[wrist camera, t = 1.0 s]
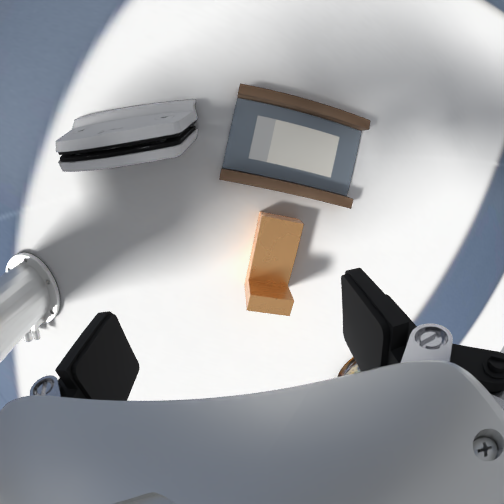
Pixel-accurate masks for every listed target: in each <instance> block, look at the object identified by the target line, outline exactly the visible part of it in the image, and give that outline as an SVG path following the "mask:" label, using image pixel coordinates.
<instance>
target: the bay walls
mask: <svg viewBox="0 0 504 504" xmlns="http://www.w3.org/2000/svg"><path fill="white" fill-rule="evenodd" d="M238 98H242V99H247V100H252V101H257V102H262V103H266V104H271V105H275V106H279V107H283V108H287V109H291V110H295V111H299V112H303V113H306V114H310V115H313V116H317V117H320V118H323V119H327V120H330V121H333V122H336V123H339V124H342V125H345V126H348V127H351V128H354V129H357V130H360V131H362V130H368V129H369V126H370V120H368V119H365V118H363V117H360V116H357V115H354V114H352V113H349V112H346V111H343V110H340V109H337V108H334V107H331V106H328V105H325V104H322V103H318V102H315V101H312V100H308V99H305V98H301V97H297V96H293V95H290V94H286V93H282V92H277V91H273V90H269V89H264V88H260V87H255V86H250V85H245V84H240V87H239V91H238ZM219 180H225V181H230V182H235V183H241V184H246V185H251V186H256V187H261V188H266V189H270V190H275V191H280V192H284V193H289V194H293V195H298V196H302V197H306V198H311V199H315V200H319V201H323V202H327V203H331V204H335V205H339V206H343V207H347V208H350V209H351V207H352V203H353V199H352V198H349V197H346V196H343V195H339V194H335V193H332V192H328V191H324V190H320V189H316V188H312V187H308V186H304V185H299V184H295V183H291V182H287V181H282V180H278V179H273V178H268V177H264V176H259V175H254V174H249V173H244V172H239V171H234V170H228V169H223V168H222V169H221V174H220V179H219Z"/></svg>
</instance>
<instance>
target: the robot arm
mask: <svg viewBox="0 0 504 504" xmlns="http://www.w3.org/2000/svg"><path fill="white" fill-rule="evenodd" d="M341 285H342V306H343V334H344V338H345V341H346V343H347V345H348V347H349V349H350V351H351V353H352V355H353V357H354V359H355V361H356V363H357V365H358V367H359V369H360V371H361V372H358V373H354V374H350V375H345V376H341V377H337V378H333V379H328V380H324V381H320V382H315V383H310V384H305V385H300V386H295V387H290V388H284V389H278V390H272V391H266V392H259V393H252V394H244V395H236V396H227V397H217V398H205V399H190V400H169V401H127V399H128V396H129V394H130V391H131V389H132V386H133V384H134V381H135V379H136V377H137V374H138V372H139V363H138V361H137V359H136V357H135V355H134V353H133V351H132V349H131V347H130V345H129V343H128V341H127V339H126V336H125V334H124V332H123V330H122V328H121V326H120V323H119V321H118V319H117V317H116V315H114V314H112V313H111V312H110V311H109V312H101V313H98V314H97V315H96V316H95V317H94V319H93V320H92V321H91V322H90V324H89V325H88V326H87V328H86V329H85V330H84V331H83V333H82V334H81V335H80V337H79V338H78V339H77V341H76V342H75V343H74V345H73V346H72V347H71V349H70V350H69V352H68V353H67V354H66V356H65V357H64V358H63V360H62V361H61V363H60V364H59V365H58V367H57V368H56V370H55V371H56V372H57V374H58V375H59V377H60V379H59V380H57V378H56V377H54V376H45V377H42V378H41V379H39V380H38V381H36V382H35V383H34V385H33V386H32V388H31V390H30V396H26V397H21V398H17V399H15V400H12V401H10V402H8V403H7V404H6V405H5V406H4V407H3V408H2V410H1V411H0V504H504V353H501V352H497V351H491V350H484V349H479V348H473V347H467V346H462V345H456V344H452V341H453V339H452V334H451V333H450V331H449V330H448V329H446V328H445V327H443V326H441V325H437V324H423V325H420V326H418V327H417V326H416V325H415V324H414V323H413V322H412V321H411V320H410V318H409V317H408V316H407V315H406V314H405V313H404V312H403V311H402V310H401V308H400V307H399V306H398V305H397V304H396V303H395V302H394V301H393V300H392V299H391V298H390V296H388V295H385V294H384V293H383V292H382V290H381V289H380V288H379V287H378V286H377V285H376V284H375V283H374V282H373V281H372V280H371V279H370V278H369V277H368V276H367V274H366V273H365V272H364V271H363V270H362V269H361V268H356V269H352V270H347V271H346V272H345V275H342V276H341ZM59 307H60V296H59V291H58V287H57V284H56V282H55V279H54V278H53V276H52V274H51V272H50V271H49V269H48V268H47V267H46V265H45V264H44V263H43V262H42V261H41V260H40V259H38V258H37V257H36V256H34V255H32V254H29V253H23V252H22V253H18V254H17V255H15V256H13V257H12V258H11V259H10V260H9V262H8V264H7V267H6V273H4V274H3V275H1V276H0V363H1V362H2V360H3V359H4V358H5V357H6V356H7V355H8V353H9V352H10V351H11V350H12V349H13V348H14V347H15V345H16V344H17V343H18V342H19V341H20V340H21V339H22V338H24V341H26V342H30V341H32V339H33V337H34V339H35V340H39V339H40V334H39V330H38V328H39V326H40V325H41V324H43V323H48V322H50V321H52V320H53V319H54V318H55V316H56V315H57V313H58V311H59ZM31 330H32V333H33V337H32V333H31Z"/></svg>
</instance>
